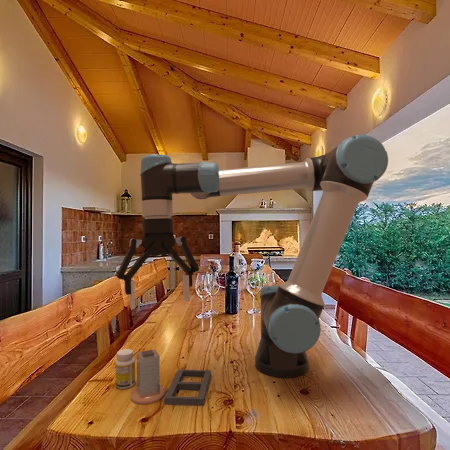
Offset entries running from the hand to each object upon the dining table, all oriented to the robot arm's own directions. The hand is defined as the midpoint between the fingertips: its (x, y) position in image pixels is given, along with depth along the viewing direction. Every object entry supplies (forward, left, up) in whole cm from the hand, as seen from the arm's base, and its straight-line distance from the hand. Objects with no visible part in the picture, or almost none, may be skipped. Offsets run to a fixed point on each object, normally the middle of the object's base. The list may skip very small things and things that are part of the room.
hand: (160, 303), depth 78 cm
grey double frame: (-7, -1, -21) cm, 22 cm away
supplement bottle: (+10, -2, -21) cm, 24 cm away
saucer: (+3, +3, -21) cm, 21 cm away
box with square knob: (+2, +3, -20) cm, 21 cm away
